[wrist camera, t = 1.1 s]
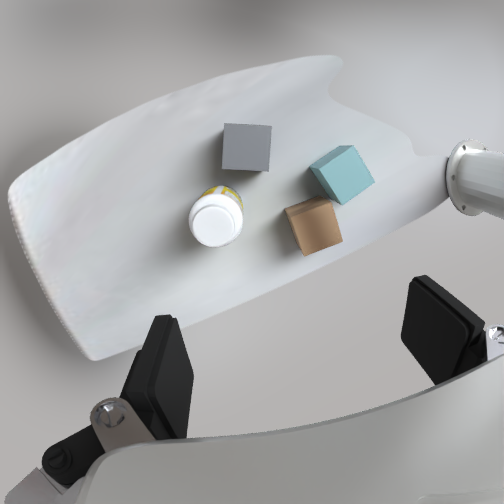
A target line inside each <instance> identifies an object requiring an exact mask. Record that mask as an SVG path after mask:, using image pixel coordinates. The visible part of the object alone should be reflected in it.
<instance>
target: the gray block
mask: <svg viewBox="0 0 504 504" xmlns="http://www.w3.org/2000/svg"><path fill="white" fill-rule="evenodd" d="M271 129H272V126H264V125H249V124H227V123H224V138H223V155H222V169H234V170H253V171H268V172H269V158H270V144H271Z"/></svg>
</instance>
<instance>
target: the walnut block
mask: <svg viewBox="0 0 504 504" xmlns="http://www.w3.org/2000/svg"><path fill="white" fill-rule="evenodd" d="M285 212H286V214H287V217H288V220H289V223H290V225H291V228H292V231H293V234H294V236H295V239H296V242H297V244H298V246H299V248H300V250H301V252H302V253H303V255H304V256H307V255H309V254H312V253H314V252H317V251H320V250H322V249H325V248H327V247H330V246H333V245H335V244H338V243H340V242H343V240H342V237H341V233H340V230H339V226H338V223H337V219H336V216H335V213H334V209H333V206H332V203H331V202H330V201H328V200H327V199H325V198H324V197H322V196H318V197H315V198H312V199H309V200H307V201H304V202H301V203H299V204H296V205H293V206H290V207H288V208H285Z"/></svg>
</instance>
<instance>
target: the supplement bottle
mask: <svg viewBox="0 0 504 504" xmlns="http://www.w3.org/2000/svg"><path fill="white" fill-rule="evenodd" d="M242 225H243V204H242V200H241V198H240V196H239V194H238V193H237V192H236V191H235V190H233V189H232V188H230V187H227V186H214V187H212V188H210V189H208V190H207V191H206V192H204V194H203V195H202V196H201V197H200V198H199V199H198V200H197V201H196V202H195V204H194V205H193V207H192V208H191V211H190V214H189V227H190V230H191V232H192V234H193V235H194V237H195V238H196V239H197V240H198V241H199V242H200V243H202V244H203V245H205V246H208V247H222V246H225V245H228V244H229V243H231V242H232V241H234V240H235V239H236V238H237V237H238V235H239V233H240V232H241V229H242Z"/></svg>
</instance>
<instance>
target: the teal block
mask: <svg viewBox="0 0 504 504" xmlns="http://www.w3.org/2000/svg"><path fill="white" fill-rule="evenodd" d="M309 167H310V169H311V170H312V172H313V173H314V174H315V176H316V177H317V179H318V180H319V182H320V183H321V185H322V186H323V188H324V190H325V191H326V193H327V194H328V196H329V197H330V198H331V199H332V200H334V201H336V202H337V203H339V204H341V205H344V204H345V203H347V202H348V201H349V200H351V199H352V198H354V197H355V196H356V195H358V194H359V193H361V192H362V191H363V190H365V189H366V188H368V187H369V186H370V185H372V184H373V183H374V182H375V181H374V179H373V177H372V176H371V174H370V172H369V170H368V169H367V167H366V165H365V163H364V162H363V160H362V158H361V157H360V155H359V153H358V152H357V150H356V149H355V147H354V146H339V147H337V148H336V149H334V150H333V151H331V152H330V153H328V154H327V155H325V156H324V157H322V158H321V159H319V160H318V161H317V162H315V163H314V164H312V165H311V166H309Z"/></svg>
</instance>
